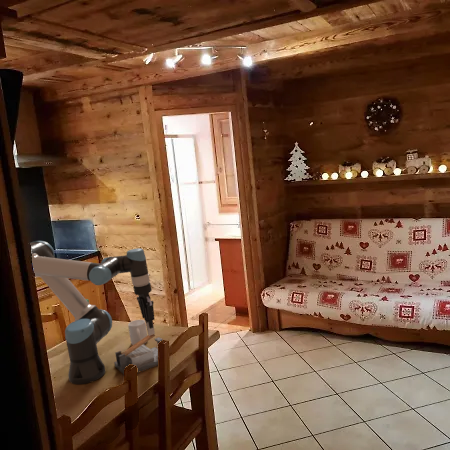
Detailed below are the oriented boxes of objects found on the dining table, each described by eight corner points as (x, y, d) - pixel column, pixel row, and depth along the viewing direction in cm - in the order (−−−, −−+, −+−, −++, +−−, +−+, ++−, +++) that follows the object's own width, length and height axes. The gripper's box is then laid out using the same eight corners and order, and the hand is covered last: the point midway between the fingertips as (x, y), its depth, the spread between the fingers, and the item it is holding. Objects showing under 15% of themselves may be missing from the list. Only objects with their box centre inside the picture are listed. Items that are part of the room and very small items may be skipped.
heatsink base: (126, 377, 186) (123, 359, 185) (114, 366, 198) (111, 349, 197) (170, 360, 197) (167, 342, 196) (156, 350, 209) (154, 334, 208)
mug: (149, 346, 214) (146, 326, 213) (131, 350, 213) (128, 330, 211) (147, 337, 226) (144, 318, 224) (130, 341, 224) (127, 321, 223)
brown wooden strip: (121, 359, 190) (120, 357, 190) (118, 357, 193) (117, 355, 193) (155, 336, 199) (154, 334, 198) (152, 334, 201) (151, 332, 201)
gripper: (155, 283, 192) (165, 335, 196) (143, 279, 202) (153, 327, 206) (139, 289, 187) (150, 341, 192) (128, 283, 198) (138, 333, 202)
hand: (151, 334), depth 199 cm, fingers closed
